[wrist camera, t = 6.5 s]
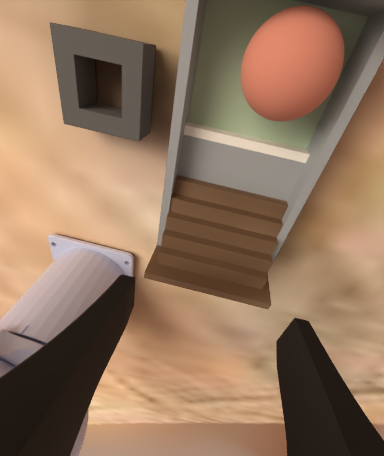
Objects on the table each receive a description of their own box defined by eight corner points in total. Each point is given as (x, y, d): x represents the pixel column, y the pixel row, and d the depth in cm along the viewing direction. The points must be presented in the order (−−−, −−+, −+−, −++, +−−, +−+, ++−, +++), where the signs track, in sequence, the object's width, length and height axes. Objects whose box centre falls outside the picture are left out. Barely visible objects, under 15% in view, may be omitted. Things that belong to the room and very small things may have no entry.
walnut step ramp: (262, 253, 19) (268, 309, 15) (165, 229, 19) (144, 277, 15) (291, 194, 16) (309, 243, 11) (174, 166, 16) (150, 204, 12)
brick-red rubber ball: (390, -7, 8) (347, 126, 9) (317, 30, 11) (296, 122, 13) (274, -26, 7) (251, 119, 9) (236, 20, 11) (225, 117, 12)
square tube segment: (150, 132, 15) (139, 141, 13) (82, 116, 15) (63, 123, 13) (155, 45, 12) (143, 43, 11) (74, 26, 12) (49, 22, 11)
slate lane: (264, 249, 19) (270, 295, 15) (165, 225, 19) (148, 264, 15) (387, -2, 10) (470, -36, 6) (202, -41, 10) (181, -96, 7)
